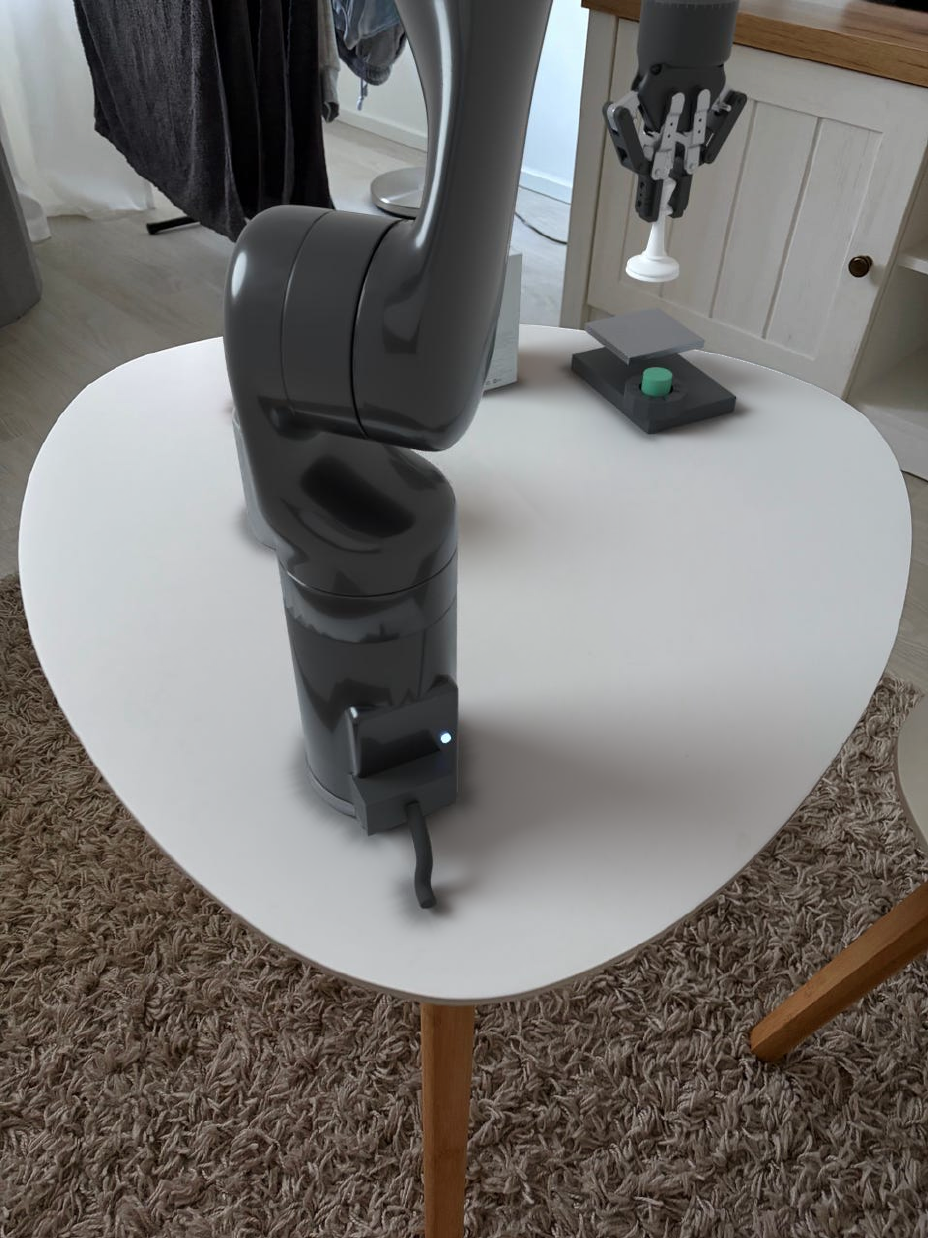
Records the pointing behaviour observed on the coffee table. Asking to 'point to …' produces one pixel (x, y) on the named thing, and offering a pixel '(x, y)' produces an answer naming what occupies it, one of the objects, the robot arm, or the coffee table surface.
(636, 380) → the scale
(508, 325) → the small box
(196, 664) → the coffee table surface
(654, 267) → the chess piece
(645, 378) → the tare button
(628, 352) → the pan
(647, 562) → the coffee table surface
